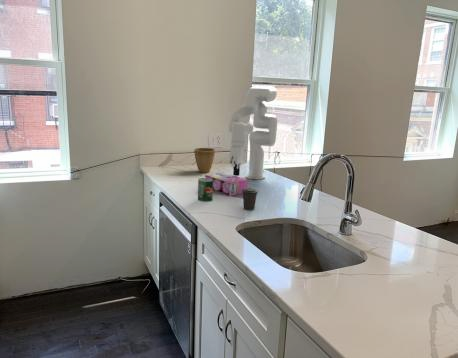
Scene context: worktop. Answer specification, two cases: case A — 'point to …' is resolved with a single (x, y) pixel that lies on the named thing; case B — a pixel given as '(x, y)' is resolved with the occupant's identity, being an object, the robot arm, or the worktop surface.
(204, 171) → the plant pot
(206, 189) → the canned tomato
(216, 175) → the gum box
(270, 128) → the robot arm
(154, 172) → the worktop surface
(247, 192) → the dark tapered cylinder
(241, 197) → the mat
